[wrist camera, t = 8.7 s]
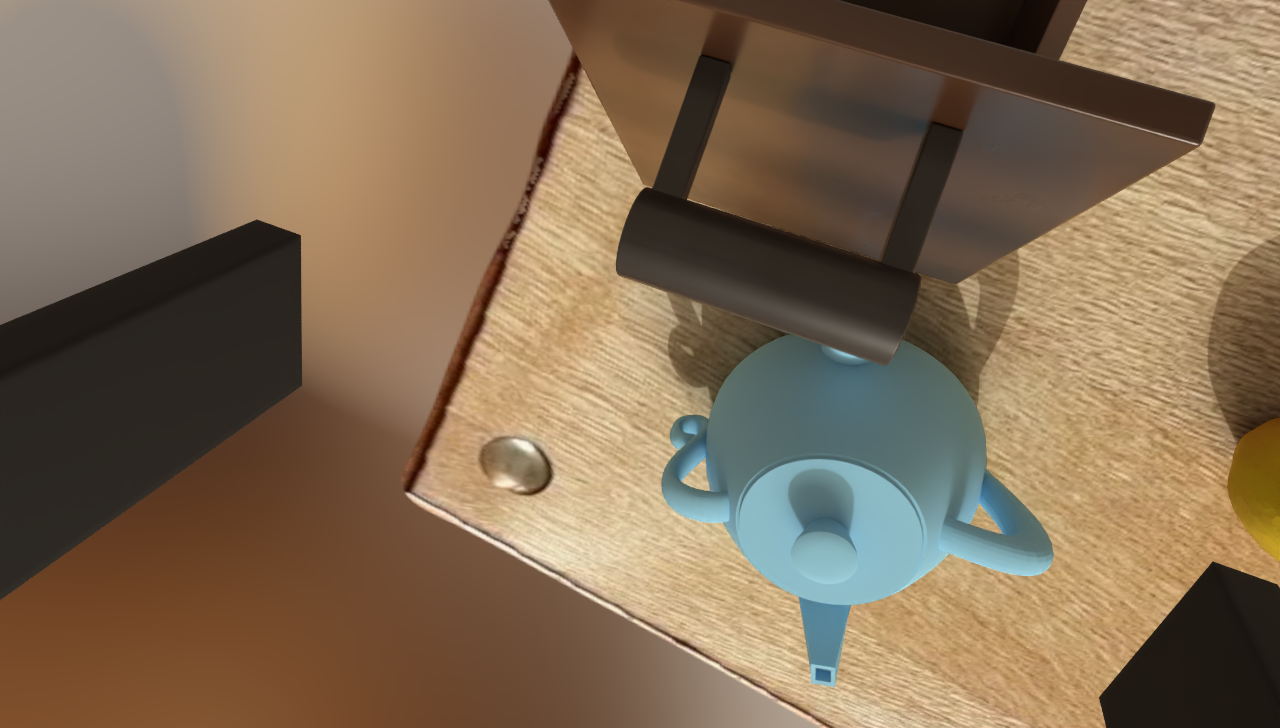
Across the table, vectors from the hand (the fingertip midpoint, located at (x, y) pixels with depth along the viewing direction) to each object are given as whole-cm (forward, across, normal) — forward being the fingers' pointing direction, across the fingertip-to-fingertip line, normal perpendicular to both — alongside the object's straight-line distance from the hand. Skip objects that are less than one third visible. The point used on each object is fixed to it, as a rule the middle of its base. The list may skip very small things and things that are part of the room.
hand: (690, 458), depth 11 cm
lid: (+14, 0, +2) cm, 14 cm away
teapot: (+30, +6, -16) cm, 35 cm away
